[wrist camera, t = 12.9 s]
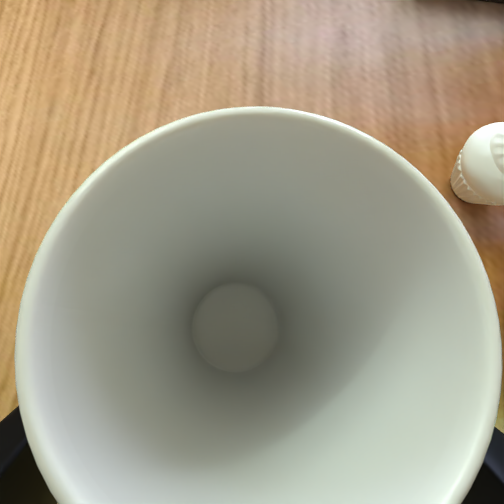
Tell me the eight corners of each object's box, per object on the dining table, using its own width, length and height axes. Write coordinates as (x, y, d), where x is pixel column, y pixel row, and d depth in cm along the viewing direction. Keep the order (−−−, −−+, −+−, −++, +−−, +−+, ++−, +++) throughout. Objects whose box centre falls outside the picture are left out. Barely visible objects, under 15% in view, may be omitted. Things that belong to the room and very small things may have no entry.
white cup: (153, 323, 18) (-118, 298, 4) (238, 248, 20) (278, 27, 5) (231, 413, 17) (267, 824, 3) (313, 328, 19) (602, 324, 4)
